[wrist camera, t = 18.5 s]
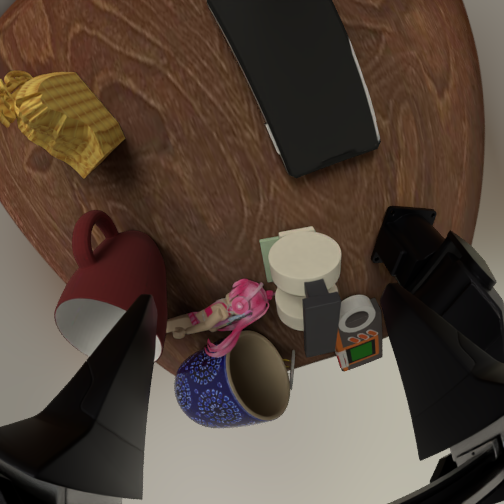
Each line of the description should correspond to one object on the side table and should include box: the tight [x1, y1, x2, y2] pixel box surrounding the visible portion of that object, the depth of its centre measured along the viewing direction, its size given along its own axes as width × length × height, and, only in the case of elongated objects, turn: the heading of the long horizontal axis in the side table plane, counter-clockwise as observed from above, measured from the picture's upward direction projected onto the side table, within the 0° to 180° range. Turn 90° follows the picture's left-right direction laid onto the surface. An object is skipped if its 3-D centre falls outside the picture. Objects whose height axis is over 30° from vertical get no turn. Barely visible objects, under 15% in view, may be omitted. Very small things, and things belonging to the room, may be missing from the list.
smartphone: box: [207, 0, 381, 178], centre depth 15 cm, size 8×1×15 cm
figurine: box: [0, 71, 125, 179], centre depth 12 cm, size 4×12×7 cm, turn 33°
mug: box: [54, 210, 168, 362], centre depth 19 cm, size 11×8×10 cm
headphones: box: [268, 226, 341, 357], centre depth 22 cm, size 6×6×9 cm
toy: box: [166, 278, 276, 358], centre depth 27 cm, size 7×6×15 cm
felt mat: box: [260, 230, 316, 282], centre depth 25 cm, size 5×5×1 cm
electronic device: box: [335, 295, 382, 371], centre depth 33 cm, size 7×3×15 cm
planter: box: [174, 330, 290, 428], centre depth 30 cm, size 11×11×11 cm
